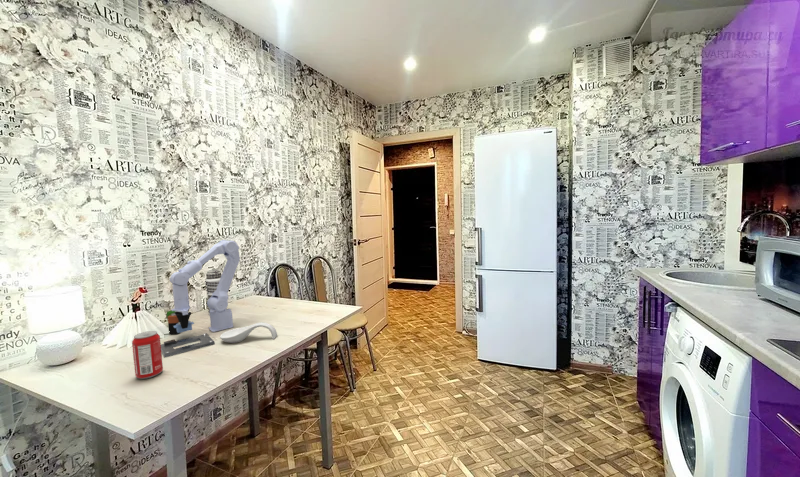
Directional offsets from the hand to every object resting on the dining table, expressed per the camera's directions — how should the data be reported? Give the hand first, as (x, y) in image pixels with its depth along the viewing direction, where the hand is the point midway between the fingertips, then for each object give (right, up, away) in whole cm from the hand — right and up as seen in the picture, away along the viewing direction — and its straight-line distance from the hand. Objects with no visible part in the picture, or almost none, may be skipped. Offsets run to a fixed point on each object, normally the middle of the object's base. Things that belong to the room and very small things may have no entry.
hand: (184, 327), depth 153 cm
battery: (-9, -5, +9) cm, 13 cm away
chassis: (+7, -6, -9) cm, 13 cm away
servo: (0, -2, 0) cm, 2 cm away
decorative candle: (-6, -2, +38) cm, 39 cm away
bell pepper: (-16, -4, +20) cm, 26 cm away
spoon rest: (+32, -5, -4) cm, 32 cm away
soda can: (+10, -8, -35) cm, 37 cm away
